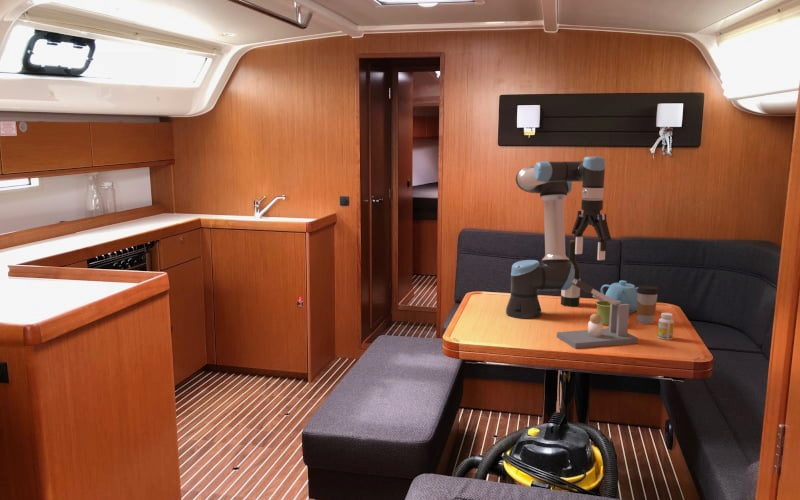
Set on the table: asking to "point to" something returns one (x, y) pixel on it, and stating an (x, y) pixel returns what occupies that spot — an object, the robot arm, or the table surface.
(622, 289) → the decorative pot
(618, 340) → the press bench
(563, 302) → the wine bottle
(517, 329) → the table surface
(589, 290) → the press lever
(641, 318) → the coffee cup
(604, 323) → the plant pot
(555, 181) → the robot arm
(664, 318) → the supplement bottle
